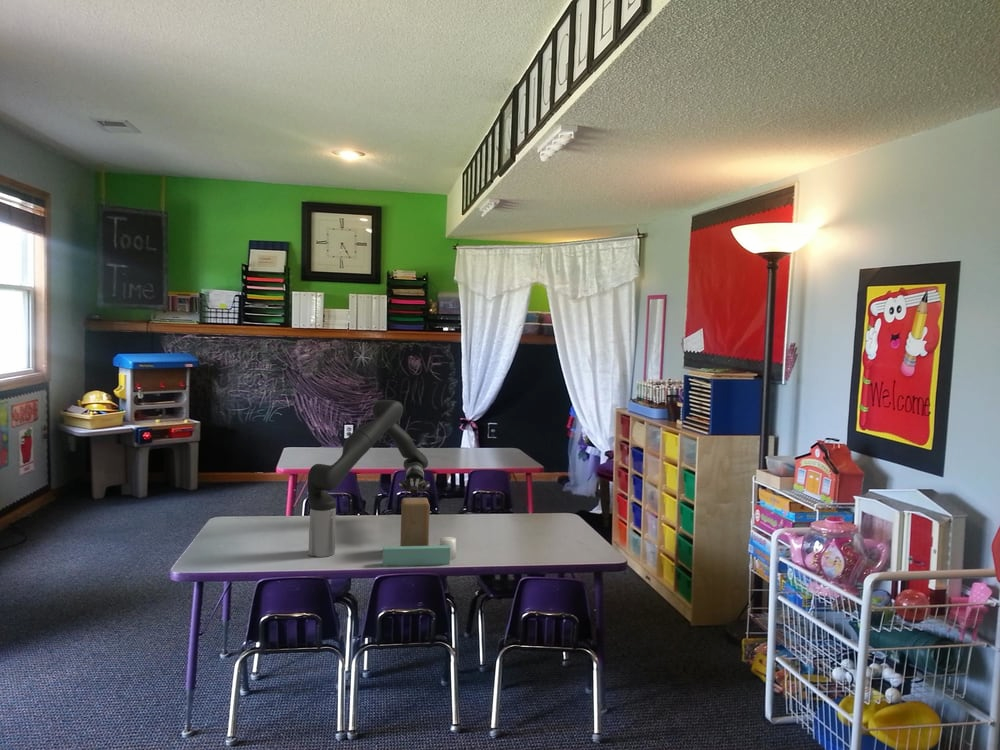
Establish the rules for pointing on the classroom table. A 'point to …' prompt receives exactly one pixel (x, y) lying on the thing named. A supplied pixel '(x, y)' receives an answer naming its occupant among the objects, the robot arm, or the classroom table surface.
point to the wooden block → (415, 522)
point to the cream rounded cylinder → (451, 542)
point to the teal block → (416, 555)
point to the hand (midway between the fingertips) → (413, 492)
